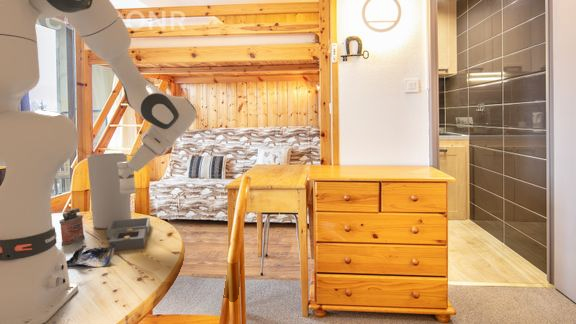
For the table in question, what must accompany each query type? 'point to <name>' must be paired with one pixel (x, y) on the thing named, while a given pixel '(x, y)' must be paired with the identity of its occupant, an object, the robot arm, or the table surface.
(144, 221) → the tray
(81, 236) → the lighter
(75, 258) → the snack package
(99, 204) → the cylinder vase
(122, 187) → the ball
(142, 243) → the block
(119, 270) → the table surface
